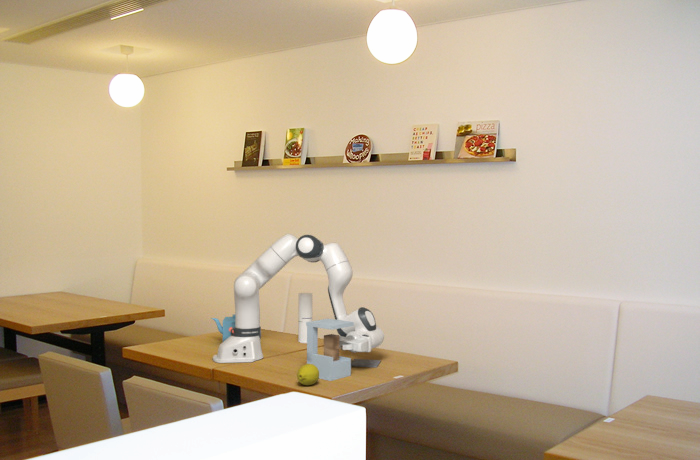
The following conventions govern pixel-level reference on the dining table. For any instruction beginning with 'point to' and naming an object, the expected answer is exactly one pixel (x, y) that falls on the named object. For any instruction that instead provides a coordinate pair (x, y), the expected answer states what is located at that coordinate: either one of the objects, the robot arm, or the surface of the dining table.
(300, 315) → the cylindrical container
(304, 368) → the lemon
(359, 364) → the felt mat
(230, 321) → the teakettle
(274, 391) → the dining table surface
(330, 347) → the walnut block
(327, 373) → the grey cantilever stand
